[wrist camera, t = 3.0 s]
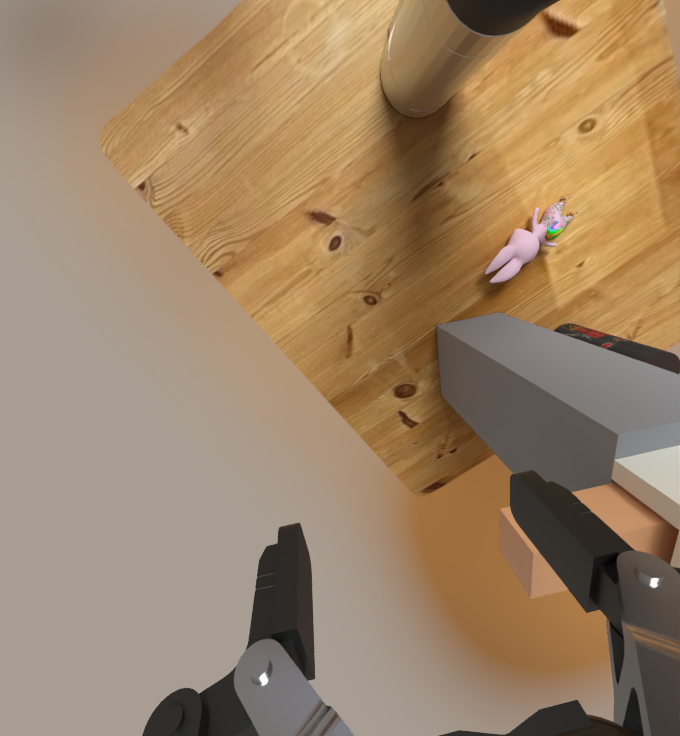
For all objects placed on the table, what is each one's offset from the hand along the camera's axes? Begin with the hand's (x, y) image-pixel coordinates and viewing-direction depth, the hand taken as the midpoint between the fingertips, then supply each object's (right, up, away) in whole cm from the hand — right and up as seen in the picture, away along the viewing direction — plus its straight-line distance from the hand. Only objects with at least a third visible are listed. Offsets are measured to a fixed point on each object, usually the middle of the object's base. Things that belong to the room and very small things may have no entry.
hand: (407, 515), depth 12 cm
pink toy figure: (+23, +24, +35) cm, 49 cm away
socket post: (+18, +7, +40) cm, 45 cm away
